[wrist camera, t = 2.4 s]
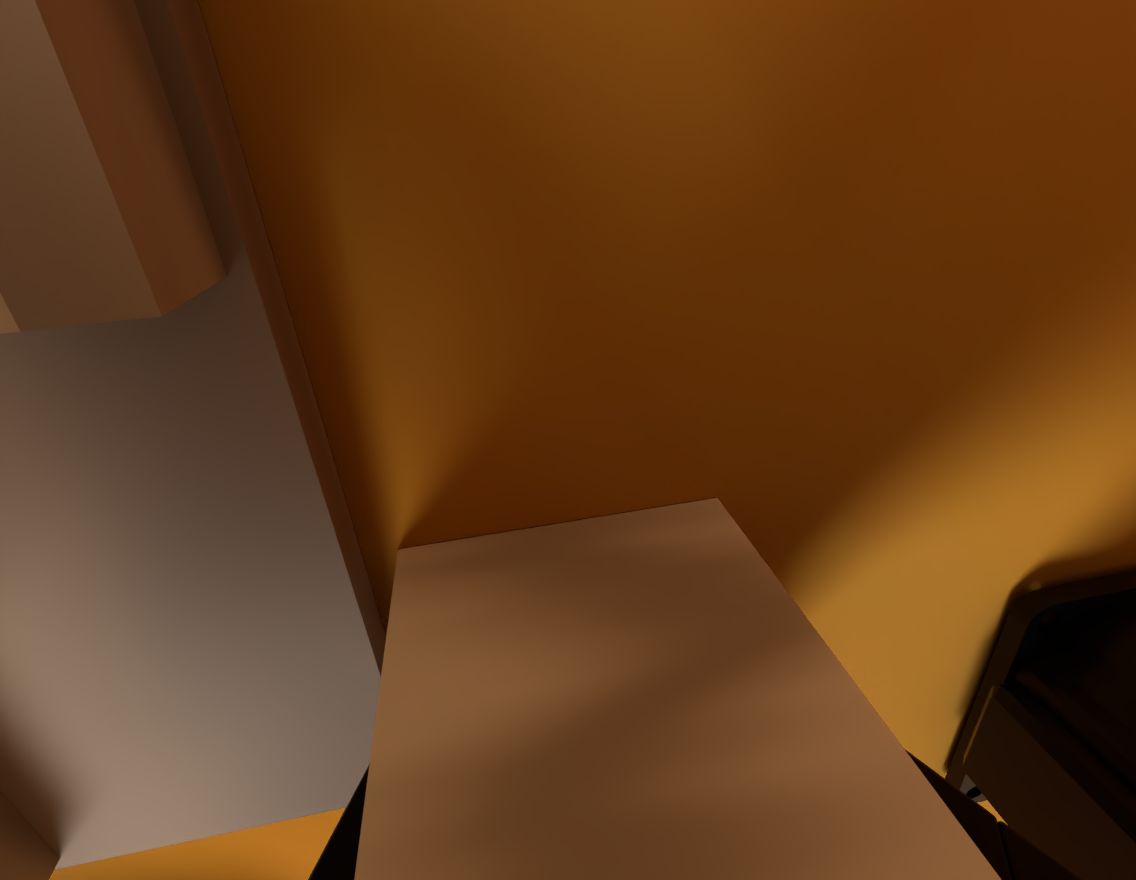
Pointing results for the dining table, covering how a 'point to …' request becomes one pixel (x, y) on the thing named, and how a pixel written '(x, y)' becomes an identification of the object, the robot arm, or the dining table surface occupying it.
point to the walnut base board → (157, 465)
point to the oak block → (631, 720)
